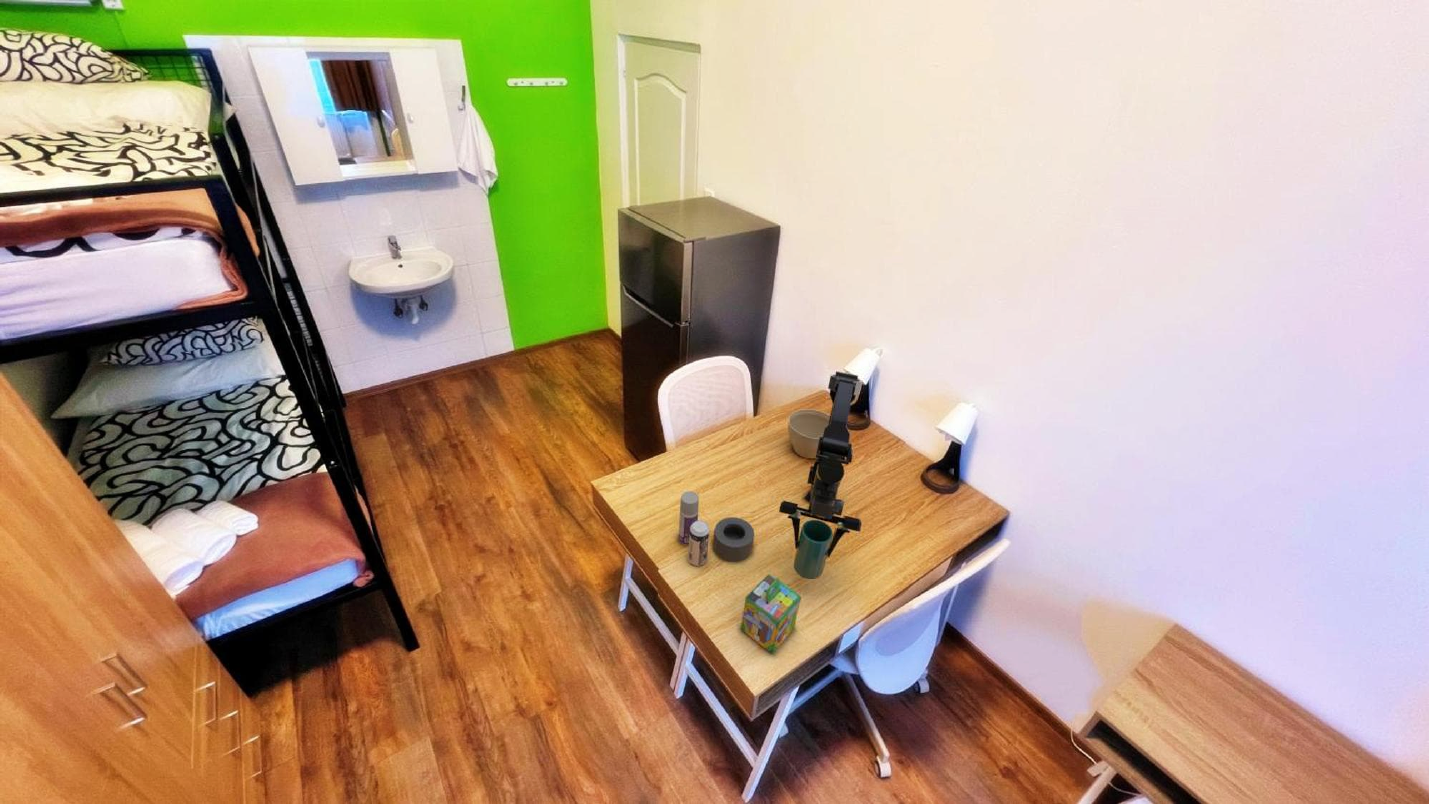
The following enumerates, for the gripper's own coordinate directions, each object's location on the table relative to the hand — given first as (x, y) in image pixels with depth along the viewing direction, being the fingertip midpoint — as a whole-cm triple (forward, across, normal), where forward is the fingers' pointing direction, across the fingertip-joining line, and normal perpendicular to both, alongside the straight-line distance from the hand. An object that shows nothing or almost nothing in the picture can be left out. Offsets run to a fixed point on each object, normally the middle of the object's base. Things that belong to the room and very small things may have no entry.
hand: (811, 553), depth 128 cm
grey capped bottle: (+9, -27, +10) cm, 30 cm away
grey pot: (+4, -20, +15) cm, 25 cm away
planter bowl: (-30, -6, +49) cm, 58 cm away
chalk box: (+19, -6, 0) cm, 20 cm away
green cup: (+4, 0, +6) cm, 7 cm away
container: (+5, -32, +14) cm, 35 cm away
